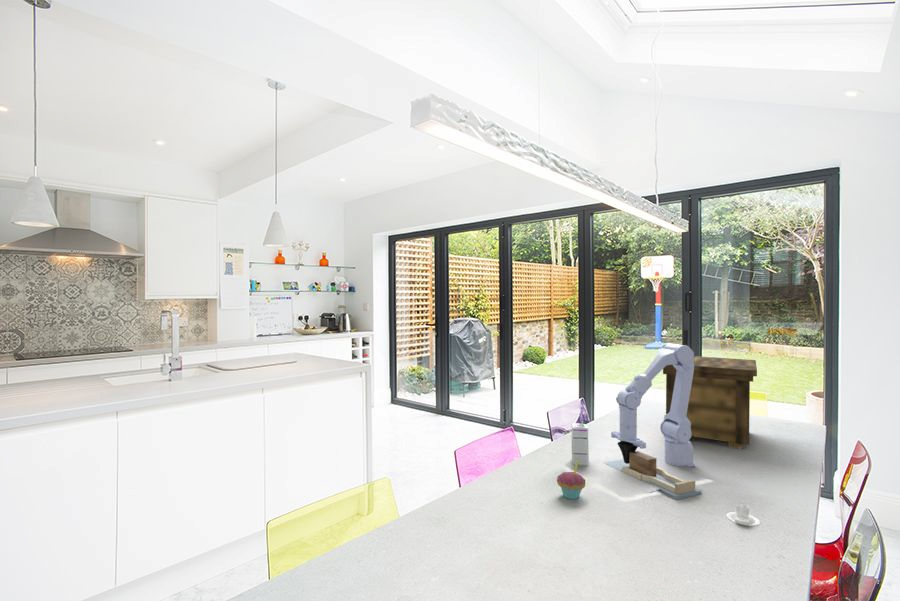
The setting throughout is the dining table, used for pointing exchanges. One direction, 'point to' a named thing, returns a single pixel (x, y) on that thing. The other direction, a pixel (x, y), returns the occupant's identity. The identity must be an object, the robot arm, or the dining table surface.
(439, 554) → the dining table surface
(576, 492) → the cupcake
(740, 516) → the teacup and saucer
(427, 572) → the dining table surface
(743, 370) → the crate
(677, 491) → the slide board
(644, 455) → the brown prism
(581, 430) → the syrup box
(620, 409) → the robot arm
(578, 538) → the dining table surface
